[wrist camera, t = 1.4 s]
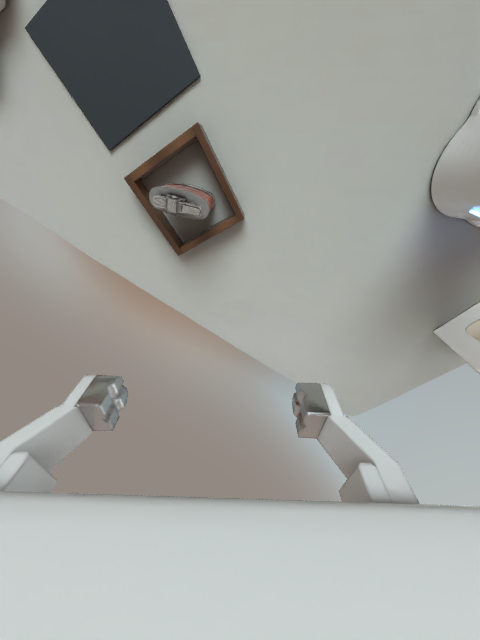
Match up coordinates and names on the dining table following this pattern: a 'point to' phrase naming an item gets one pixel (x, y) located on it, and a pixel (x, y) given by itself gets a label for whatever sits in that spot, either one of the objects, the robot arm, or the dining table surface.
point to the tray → (157, 215)
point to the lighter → (182, 200)
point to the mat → (115, 59)
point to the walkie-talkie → (2, 4)
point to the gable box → (464, 336)
